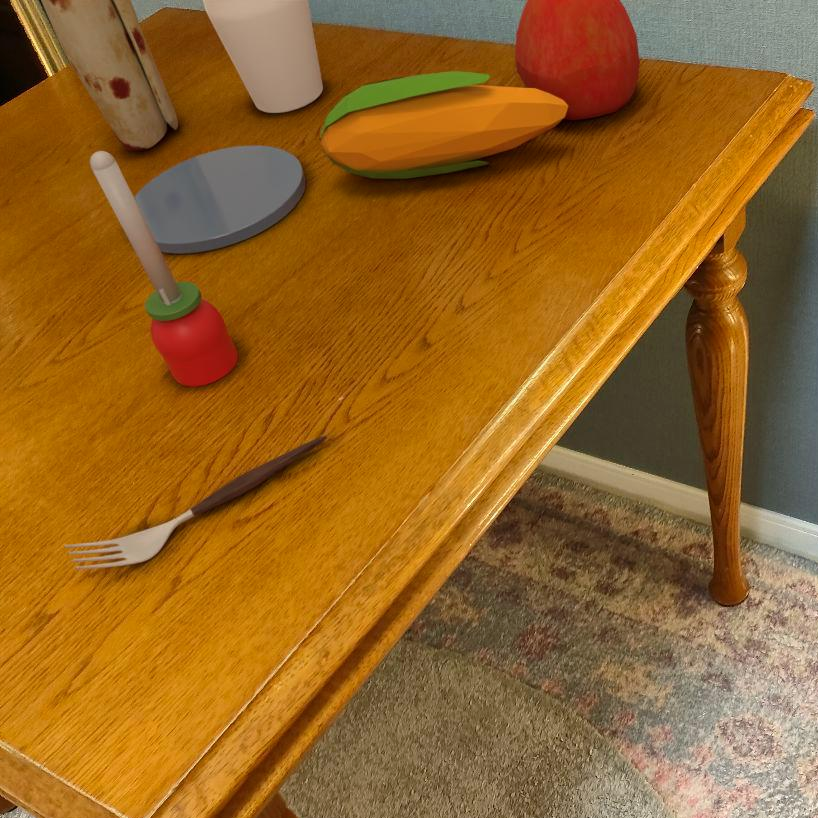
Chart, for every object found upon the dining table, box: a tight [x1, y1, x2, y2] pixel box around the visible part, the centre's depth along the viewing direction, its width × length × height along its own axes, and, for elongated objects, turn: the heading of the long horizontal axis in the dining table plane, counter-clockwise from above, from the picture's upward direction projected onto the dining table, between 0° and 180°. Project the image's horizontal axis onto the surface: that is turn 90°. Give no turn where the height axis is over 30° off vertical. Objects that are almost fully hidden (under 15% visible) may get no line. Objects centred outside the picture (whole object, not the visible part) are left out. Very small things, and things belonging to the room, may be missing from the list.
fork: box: [64, 435, 328, 570], centre depth 59 cm, size 3×16×2 cm, turn 125°
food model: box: [40, 0, 179, 152], centre depth 87 cm, size 10×7×20 cm
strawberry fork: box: [89, 150, 239, 387], centre depth 63 cm, size 5×5×16 cm
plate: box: [133, 144, 307, 255], centre depth 84 cm, size 15×15×1 cm
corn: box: [319, 70, 568, 180], centre depth 79 cm, size 7×8×20 cm
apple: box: [514, 0, 641, 121], centre depth 82 cm, size 10×10×10 cm
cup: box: [202, 0, 324, 114], centre depth 91 cm, size 9×9×12 cm
